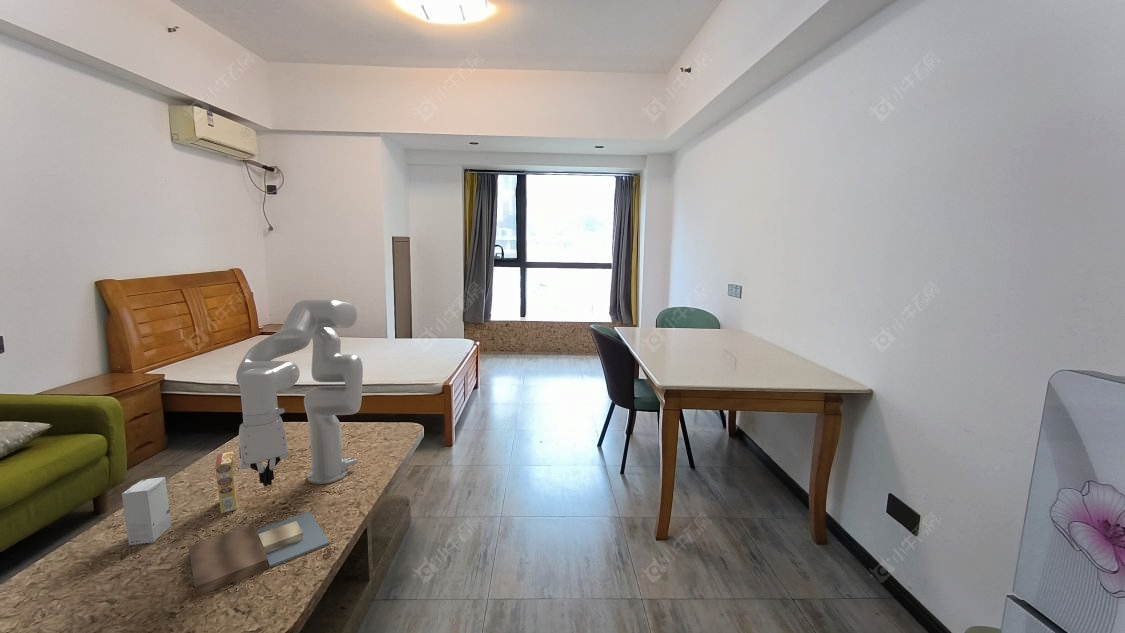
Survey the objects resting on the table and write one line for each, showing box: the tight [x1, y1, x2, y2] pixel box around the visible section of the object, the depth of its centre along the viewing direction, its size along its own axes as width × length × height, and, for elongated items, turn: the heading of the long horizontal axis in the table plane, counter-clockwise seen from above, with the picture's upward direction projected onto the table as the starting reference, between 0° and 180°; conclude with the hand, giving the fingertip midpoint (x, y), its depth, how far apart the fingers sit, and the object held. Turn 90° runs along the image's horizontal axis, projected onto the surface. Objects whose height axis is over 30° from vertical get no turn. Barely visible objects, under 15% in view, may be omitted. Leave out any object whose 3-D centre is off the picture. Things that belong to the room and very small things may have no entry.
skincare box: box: [121, 476, 172, 546], centre depth 124 cm, size 8×6×15 cm
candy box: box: [214, 451, 239, 514], centre depth 139 cm, size 9×4×15 cm, turn 33°
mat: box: [255, 511, 331, 568], centre depth 124 cm, size 14×19×1 cm
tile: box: [258, 521, 303, 553], centre depth 122 cm, size 9×7×2 cm
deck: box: [187, 524, 270, 597], centre depth 115 cm, size 14×19×2 cm
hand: (267, 483), depth 119 cm, fingers closed
